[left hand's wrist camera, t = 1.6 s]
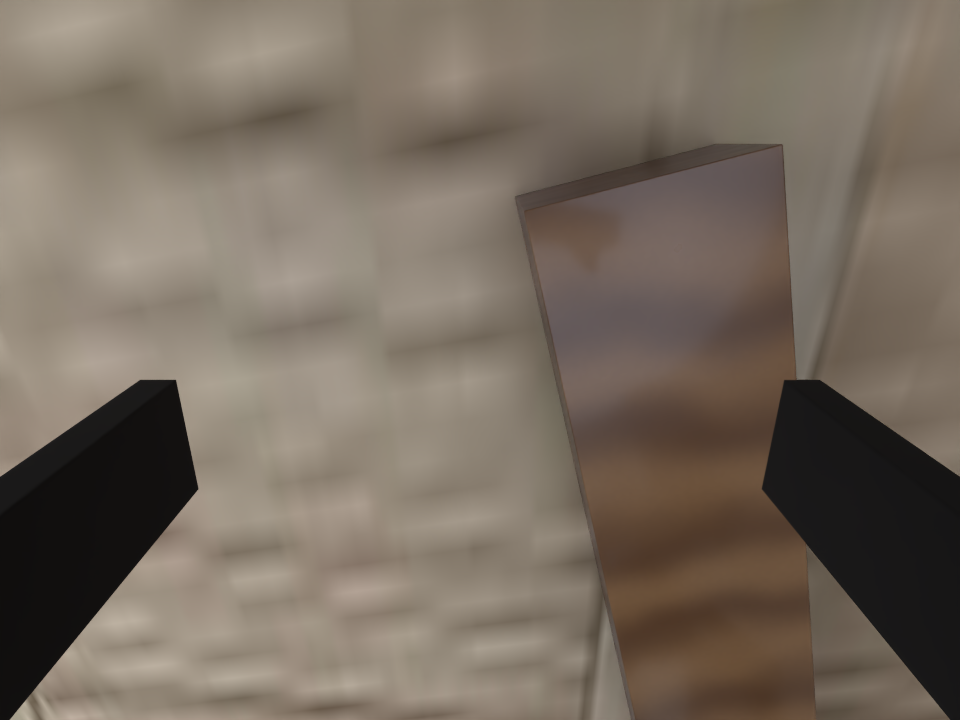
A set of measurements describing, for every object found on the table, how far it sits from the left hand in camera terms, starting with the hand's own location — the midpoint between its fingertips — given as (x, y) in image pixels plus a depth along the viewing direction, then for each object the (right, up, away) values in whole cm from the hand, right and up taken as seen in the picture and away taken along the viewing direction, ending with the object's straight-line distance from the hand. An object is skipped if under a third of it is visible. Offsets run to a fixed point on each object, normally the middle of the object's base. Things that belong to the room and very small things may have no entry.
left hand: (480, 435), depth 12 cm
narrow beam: (+14, -15, +25) cm, 32 cm away
